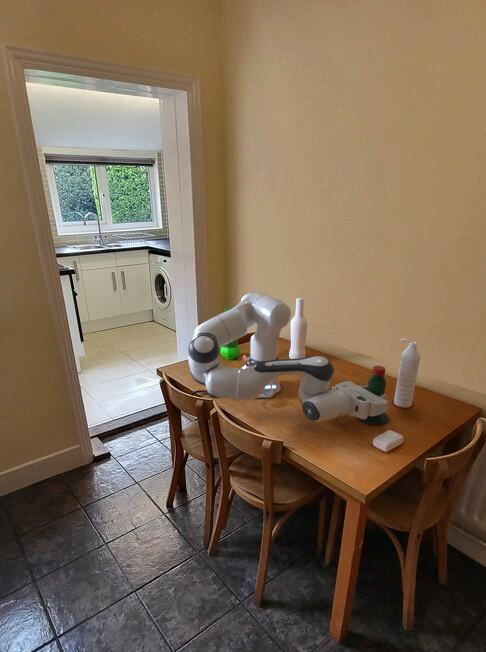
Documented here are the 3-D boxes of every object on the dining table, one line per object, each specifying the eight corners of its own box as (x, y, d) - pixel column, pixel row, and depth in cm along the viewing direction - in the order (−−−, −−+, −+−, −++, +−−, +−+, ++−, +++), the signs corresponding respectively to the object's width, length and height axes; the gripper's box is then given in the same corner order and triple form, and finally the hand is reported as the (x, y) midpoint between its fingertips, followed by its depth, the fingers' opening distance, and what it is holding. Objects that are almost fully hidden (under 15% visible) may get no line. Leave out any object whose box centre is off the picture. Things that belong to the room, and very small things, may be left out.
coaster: (365, 427, 143) (365, 425, 142) (351, 412, 152) (351, 410, 152) (394, 423, 145) (394, 421, 144) (378, 408, 154) (378, 407, 154)
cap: (375, 376, 139) (376, 370, 138) (370, 372, 142) (371, 366, 142) (386, 375, 140) (387, 369, 139) (380, 371, 143) (381, 365, 142)
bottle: (306, 361, 198) (310, 300, 186) (289, 361, 199) (292, 300, 186) (304, 355, 206) (307, 296, 193) (288, 355, 206) (290, 296, 193)
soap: (388, 436, 137) (389, 428, 136) (403, 443, 133) (404, 435, 132) (371, 445, 132) (372, 437, 131) (386, 453, 128) (387, 445, 127)
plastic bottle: (219, 354, 208) (217, 306, 198) (239, 353, 209) (238, 305, 199) (220, 361, 199) (218, 311, 189) (241, 360, 200) (241, 310, 190)
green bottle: (368, 421, 145) (375, 373, 137) (360, 413, 150) (366, 366, 142) (383, 419, 146) (391, 371, 138) (375, 411, 151) (382, 365, 144)
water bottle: (415, 405, 157) (426, 343, 146) (403, 409, 154) (415, 346, 143) (396, 396, 163) (406, 336, 153) (385, 400, 160) (394, 339, 150)
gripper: (326, 396, 148) (355, 389, 154) (367, 421, 132) (398, 412, 138) (328, 380, 146) (357, 373, 151) (369, 404, 129) (401, 395, 135)
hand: (377, 392), depth 144 cm, fingers closed on green bottle, 6 cm apart
